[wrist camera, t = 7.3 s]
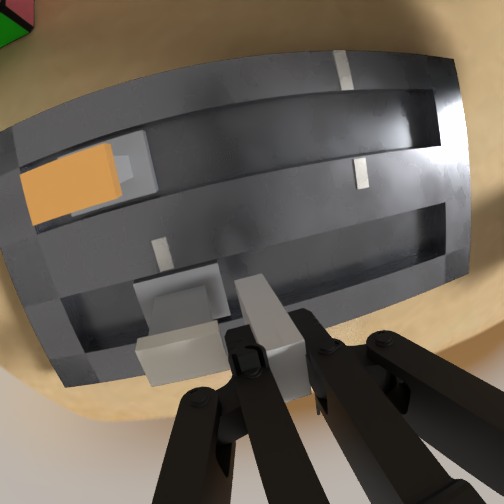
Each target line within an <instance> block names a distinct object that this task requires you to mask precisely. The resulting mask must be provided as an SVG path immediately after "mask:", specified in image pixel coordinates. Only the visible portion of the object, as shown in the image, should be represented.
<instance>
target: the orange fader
mask: <svg viewBox="0 0 504 504" xmlns="http://www.w3.org/2000/svg"><path fill="white" fill-rule="evenodd" d="M20 178H21V183H22V187H23V191H24V195H25V199H26V203H27V207H28V210H29V214H30V217H31V221H32V224H33V226H34V225H37V224H40V223H43V222H46V221H48V220H51V219H54V218H57V217H60V216H63V215H66V214H69V213H71V215H72V217H74V216H77V215H80V214H83V213H87V212H90V211H93V210H96V209H100V208H103V207H106V206H110V205H113V204H116V203H120V202H123V201H127V200H130V199H134V198H138V197H141V196H145V195H149V194H152V193H156V192H157V191H158V190H159V189H158V185H157V180H156V176H155V172H154V168H153V163H152V159H151V154H150V150H149V145H148V140H147V136H146V132H145V131H143V130H140V131H137V132H133V133H130V134H126V135H123V136H120V137H116V138H113V139H110V140H107V141H104V142H101V143H97V144H94V145H91V146H88V147H86V148H83V149H80V150H77V151H74V152H71V153H69V154H66V155H63V156H61V157H58V158H57V160H55V161H52V162H50V163H47V164H45V165H42V166H40V167H37V168H35V169H32V170H30V171H27V172H25V173H23V174H20Z"/></svg>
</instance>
